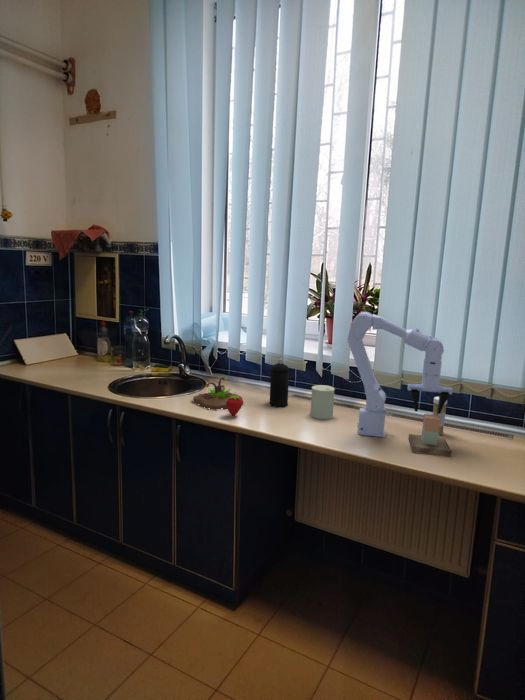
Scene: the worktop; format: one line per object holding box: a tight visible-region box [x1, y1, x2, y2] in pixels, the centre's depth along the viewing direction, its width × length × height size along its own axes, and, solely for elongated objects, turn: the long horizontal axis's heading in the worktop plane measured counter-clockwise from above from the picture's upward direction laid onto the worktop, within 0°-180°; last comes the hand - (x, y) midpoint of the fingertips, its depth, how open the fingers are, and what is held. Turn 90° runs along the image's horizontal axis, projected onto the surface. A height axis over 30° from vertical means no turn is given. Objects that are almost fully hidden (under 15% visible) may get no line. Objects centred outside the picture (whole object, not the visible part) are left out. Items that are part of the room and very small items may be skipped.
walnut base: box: [407, 433, 452, 457], centre depth 161 cm, size 12×12×2 cm
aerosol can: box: [268, 357, 291, 408], centre depth 201 cm, size 8×8×20 cm
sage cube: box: [421, 426, 439, 445], centre depth 160 cm, size 4×4×4 cm
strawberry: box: [226, 394, 243, 417], centre depth 185 cm, size 6×8×10 cm
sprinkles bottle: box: [432, 396, 448, 436], centre depth 174 cm, size 5×5×13 cm
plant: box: [192, 376, 244, 410], centre depth 202 cm, size 20×20×11 cm
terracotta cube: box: [422, 413, 440, 432], centre depth 159 cm, size 4×4×4 cm
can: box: [309, 384, 336, 420], centre depth 190 cm, size 9×9×12 cm
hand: (427, 411), depth 166 cm, fingers open, 7 cm apart
